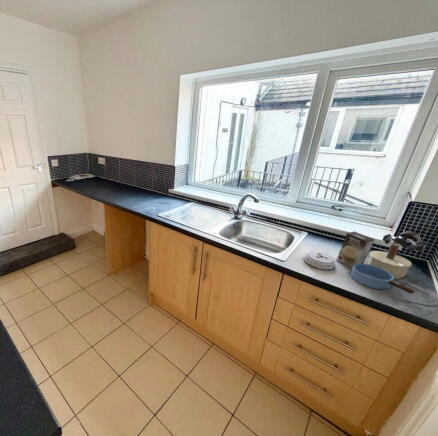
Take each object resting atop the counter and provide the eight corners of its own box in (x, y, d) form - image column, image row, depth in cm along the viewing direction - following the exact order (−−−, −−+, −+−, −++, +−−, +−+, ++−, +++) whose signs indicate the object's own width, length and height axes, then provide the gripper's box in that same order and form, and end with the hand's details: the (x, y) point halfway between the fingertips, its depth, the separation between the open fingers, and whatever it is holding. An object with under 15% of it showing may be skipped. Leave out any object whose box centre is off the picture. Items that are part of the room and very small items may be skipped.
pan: (419, 295, 100) (424, 286, 98) (401, 303, 95) (405, 294, 93) (361, 269, 118) (364, 261, 117) (343, 275, 113) (346, 266, 112)
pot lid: (417, 265, 111) (425, 249, 108) (399, 271, 106) (407, 254, 103) (379, 251, 124) (385, 236, 121) (362, 255, 119) (367, 240, 116)
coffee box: (335, 260, 125) (345, 232, 119) (343, 258, 127) (353, 230, 121) (354, 270, 117) (366, 241, 111) (363, 267, 119) (375, 238, 113)
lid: (338, 272, 116) (341, 263, 114) (309, 268, 118) (311, 260, 116) (327, 258, 127) (329, 250, 125) (300, 255, 130) (302, 247, 128)
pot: (410, 275, 114) (416, 263, 111) (394, 281, 109) (399, 269, 107) (376, 261, 125) (380, 250, 123) (359, 266, 121) (364, 255, 118)
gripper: (393, 227, 129) (382, 233, 121) (432, 236, 117) (422, 244, 109) (388, 239, 131) (376, 246, 123) (426, 250, 120) (416, 258, 112)
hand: (398, 245), depth 116 cm, fingers open, 8 cm apart
